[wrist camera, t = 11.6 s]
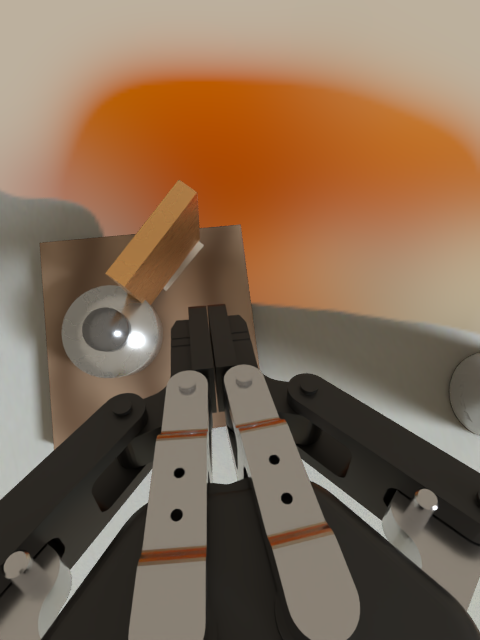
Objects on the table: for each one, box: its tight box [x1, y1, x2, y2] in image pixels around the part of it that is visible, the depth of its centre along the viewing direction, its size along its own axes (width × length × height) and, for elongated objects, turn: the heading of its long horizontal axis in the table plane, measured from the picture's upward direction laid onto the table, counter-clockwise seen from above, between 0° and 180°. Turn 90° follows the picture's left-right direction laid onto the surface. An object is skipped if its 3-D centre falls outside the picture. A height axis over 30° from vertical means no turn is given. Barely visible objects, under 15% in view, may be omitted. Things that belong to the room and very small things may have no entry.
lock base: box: [40, 225, 260, 450], centre depth 37 cm, size 20×20×2 cm
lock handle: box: [62, 180, 200, 378], centre depth 31 cm, size 16×8×11 cm, turn 145°
